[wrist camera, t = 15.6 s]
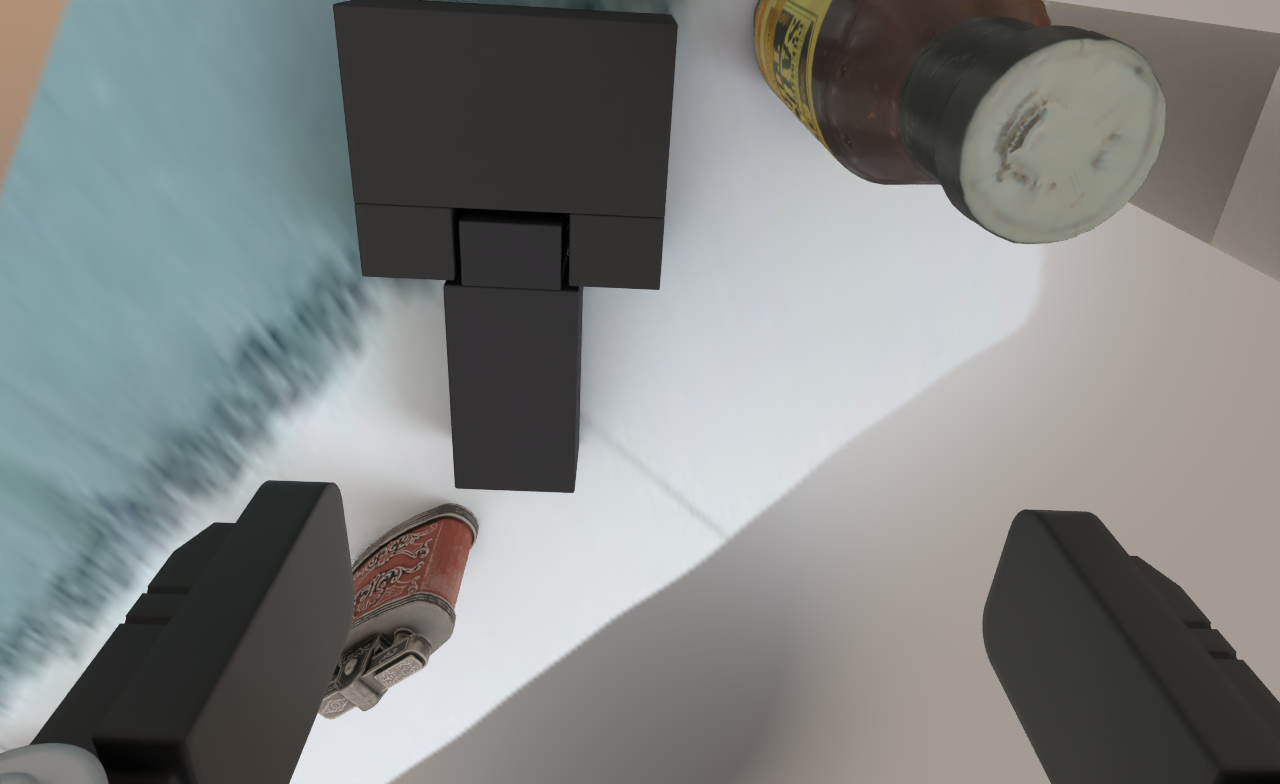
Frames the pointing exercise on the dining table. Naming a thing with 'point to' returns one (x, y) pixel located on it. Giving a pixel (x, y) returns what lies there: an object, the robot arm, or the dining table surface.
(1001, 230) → the sauce bottle
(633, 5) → the dining table surface
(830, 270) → the dining table surface
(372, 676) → the lighter
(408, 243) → the notch pad
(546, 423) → the pad
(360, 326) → the dining table surface
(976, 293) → the dining table surface
